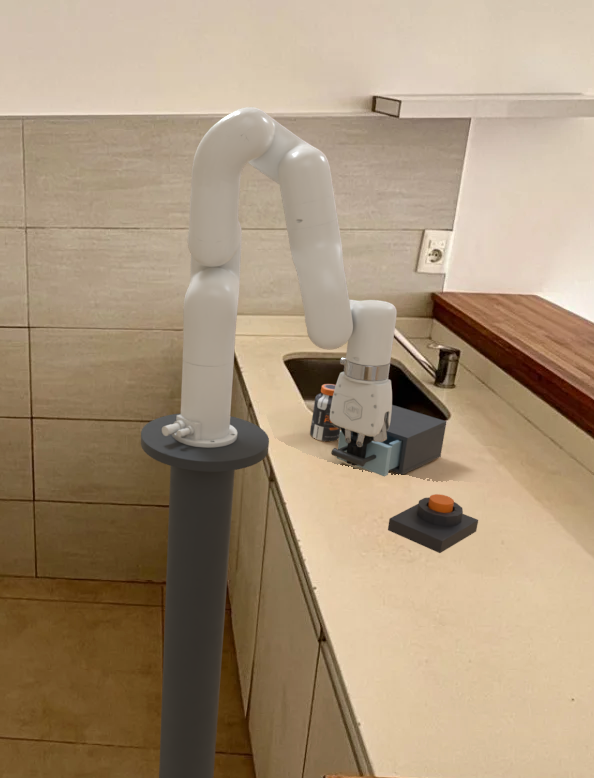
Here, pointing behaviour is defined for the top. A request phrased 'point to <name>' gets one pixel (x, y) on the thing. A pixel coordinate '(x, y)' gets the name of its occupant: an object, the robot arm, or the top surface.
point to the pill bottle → (324, 416)
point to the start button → (441, 503)
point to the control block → (433, 526)
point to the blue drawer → (373, 455)
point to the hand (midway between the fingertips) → (355, 462)
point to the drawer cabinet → (416, 438)
